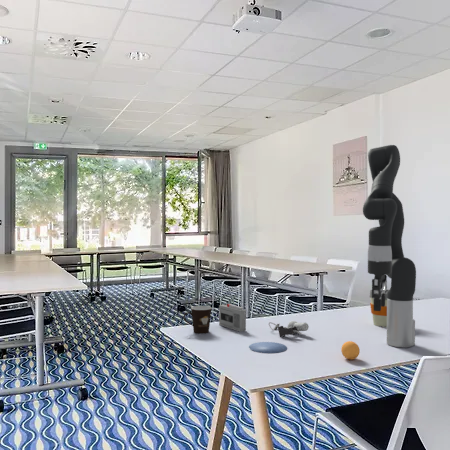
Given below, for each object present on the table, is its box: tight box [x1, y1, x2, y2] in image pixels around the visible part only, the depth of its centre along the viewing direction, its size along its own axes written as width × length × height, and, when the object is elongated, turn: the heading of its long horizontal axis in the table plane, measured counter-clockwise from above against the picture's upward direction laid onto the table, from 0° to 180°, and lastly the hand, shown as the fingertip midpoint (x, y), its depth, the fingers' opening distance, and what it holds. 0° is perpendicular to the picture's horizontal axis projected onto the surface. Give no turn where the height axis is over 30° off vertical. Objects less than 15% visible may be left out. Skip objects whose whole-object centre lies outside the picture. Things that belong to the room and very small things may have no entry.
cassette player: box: [218, 303, 247, 333], centre depth 199 cm, size 16×3×10 cm, turn 36°
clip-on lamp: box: [268, 320, 309, 338], centre depth 189 cm, size 12×6×18 cm
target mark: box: [248, 341, 288, 354], centre depth 168 cm, size 14×14×1 cm
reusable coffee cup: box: [369, 289, 389, 328], centre depth 205 cm, size 12×13×15 cm
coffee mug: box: [182, 305, 212, 334], centre depth 192 cm, size 12×9×10 cm
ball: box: [340, 340, 361, 360], centre depth 155 cm, size 6×6×6 cm
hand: (379, 308), depth 150 cm, fingers open, 8 cm apart
